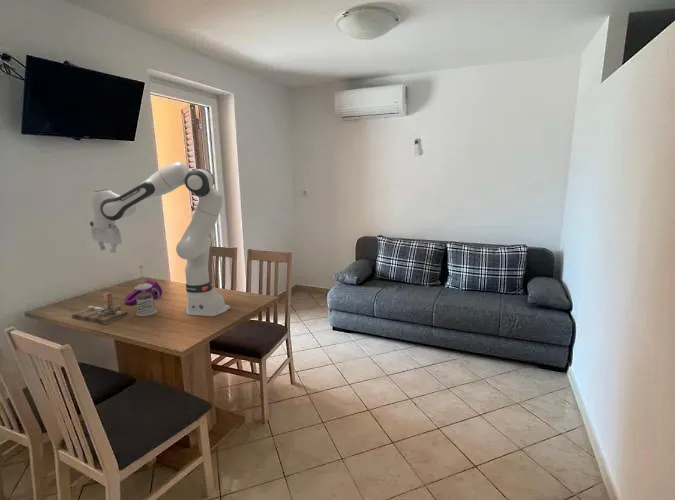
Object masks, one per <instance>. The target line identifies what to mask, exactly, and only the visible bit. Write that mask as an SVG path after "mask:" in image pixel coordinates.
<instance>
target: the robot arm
mask: <svg viewBox="0 0 675 500" xmlns="http://www.w3.org/2000/svg"><path fill="white" fill-rule="evenodd" d="M214 184H215V177H214V175H213V173H212V172H211V171H209V170H208V169H205V168H193V169H190V168H189V166H188V165H186V164H185V163H184V162H183V161H175V162H173V163H170V164H167V165H166V166H164V167H161V168H160V169H159V170H157V171H155V172H154V173H153V174H151V175H150V176H149V177H148V178H147V179H145V180H144V181H143V182H141V183H140V184H138V185H137V186H135V187H134V188H132V189H130V190H128V191H126V192H125V193H123V194H121V195H120V194H118V193H115V192H113V191H112V190H111V189H102V190H95V191H94V192H93V193H92V197H91V198H92V199H91V203H92V210H93V213H94V214H93V220H91V221H89V226H90V231H91V237H92V240H93V241H97V244H98V246H99V250H100V251H105V250H106V245H105V244H110V246H111V248H110V253H111V254H114V253H115V254H116V253H117V250H116V249H117V247H118V245H121V244H122V236H121V230H120V229H119V228H118V227H117V223H116V221H117V220H120V219H122V218H123V219H124V218H126V217H129V216H131V215H133V214H134V213H135V212H136V205H137V204H138V203H141V202H142V201H144V200H146V199H149V198H150V199H151V198H154V197H159V196H163V195H166V194H169V193H172V192H174V191H175V190H176V189H178V188H180V187H182V186H183V185H185V188H186V189H187V190H188V191H189V192H190V193H192V194H194V195H195V196H196V197H198V198H199V199H198V203H197V205H196V208H195V210H194V213H193V215H192V217H191V221H190V223H189V225H188V226H187V228H186V229H185V232H184V233H183V235H182V236H181V238H180V241H178V243H177V245H176V246H175V247H176V248H175V251H176V254H177V256H178V257H179V258H181V259H183V260H186V265H185V269H184V272H185V282H186V283H185V291H186V306H185V307H186V308H185V311H186V312H185V315H187V316H199V317H200V316H202V317H216V316H218V315H221V314H223V313H225V312H227V311H229V310H230V309H231V306H230V305H229V304H226V303H225V302H226V301H225V298H224V296H222V295H221V294H219V292H218V291H216V290H215V289H214V288H213V287H214V285H215V284H214V283H211V281H210V274H209V259H210V249H211V244H212V241H211V238H210V235H211V233H212V231H213V230H214V228H215V225H216V223H217V221H218V217H219V216H220V213H221V209H222V205H223V201H224V197H223V194H222V193H221V191H218V190H217V189H215V188H214V187H213V186H214ZM228 309H229V310H228Z"/></svg>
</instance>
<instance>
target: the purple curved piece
mask: <svg viewBox="0 0 675 500" xmlns="http://www.w3.org/2000/svg"><path fill="white" fill-rule="evenodd" d="M143 283H147V284H151V285H152V287H151V288H149V289H145V290H136V289H135V288H134V290H133V291H132V292H131V293H129V294H128V295H127V296H126V297H125V298H124V303H125V304H126V305H127V306H132V305H135V304H137V300H136V298H137V294H140V293H145V292H151V293H152V295H153V299H154V300H157V299H158V297H159V299H160V298H161V296H162V294H163V289H162V287H161V286H160V285H159V283H158V281H154V280H150V279H147V280H146V281H143ZM152 288H153V291H152ZM154 288H155V290H154ZM156 289H157V290H158V291H159V296H158V292H157V291H156ZM148 298H151V297H148ZM159 299H158V300H159Z"/></svg>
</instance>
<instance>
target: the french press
mask: <svg viewBox="0 0 675 500" xmlns="http://www.w3.org/2000/svg"><path fill="white" fill-rule="evenodd" d="M143 267H144V265H143V264H139V266H138V268H139V269H140V272H141V274H143V272H142V269H143ZM141 279H142V281H141V282H142V283H140V284H137V285H136V286H134V290H135V289H136V290H145V289H149V288H151V287H152V285H151V284H147V283H144V281H143V280H144V278H143V276H141ZM154 290H155V288H154ZM152 291H153V288H152ZM156 291H157V292H158V296H159V291H158V290H157V289H156ZM149 297H151V298H149ZM159 299H160V298H159V297H158V299H153V295H152V293H151V292H145V293H140V294H137V298H136V300H137V303H136V305H137V312H136V313H135V315H136V316H137V317H138V316H139V317H145V316H151V315H154V314H156V313H158V310H157V309H156V305H155V303H156V302H158V300H159Z"/></svg>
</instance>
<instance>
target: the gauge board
mask: <svg viewBox="0 0 675 500" xmlns="http://www.w3.org/2000/svg"><path fill="white" fill-rule="evenodd" d="M102 309H104V306H103V307H102V306H93V305H90V306H87V308H85V309H82V310H79V311H77V312H73V313H72V314H71V318H72V319H75V320H76V319H77V320H81V321H86V322H92V323H97V324H102V325H107V324H111V323H113V322H116V321H118V320H120V319H123V318H126V317H128V316H129V312H128V311H126V310H122V309H121V305H120V304H114V306H111V307H109V309H110V310H107V311H106V310H105V311H103V312H100V315H98V311H99V310H102Z"/></svg>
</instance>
